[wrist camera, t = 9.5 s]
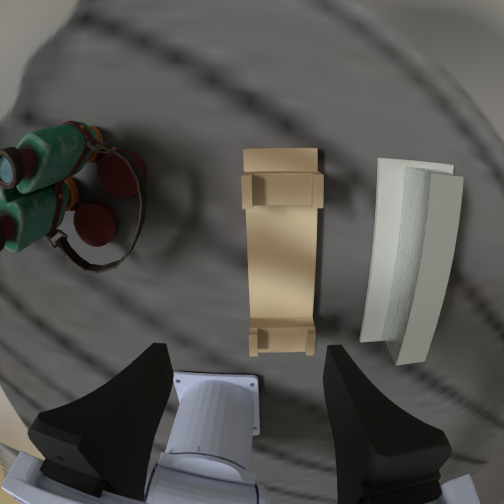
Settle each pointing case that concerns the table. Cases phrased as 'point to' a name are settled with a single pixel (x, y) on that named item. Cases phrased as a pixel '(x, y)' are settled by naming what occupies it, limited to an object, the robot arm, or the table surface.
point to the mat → (386, 241)
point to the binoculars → (65, 189)
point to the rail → (422, 261)
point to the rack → (281, 246)
